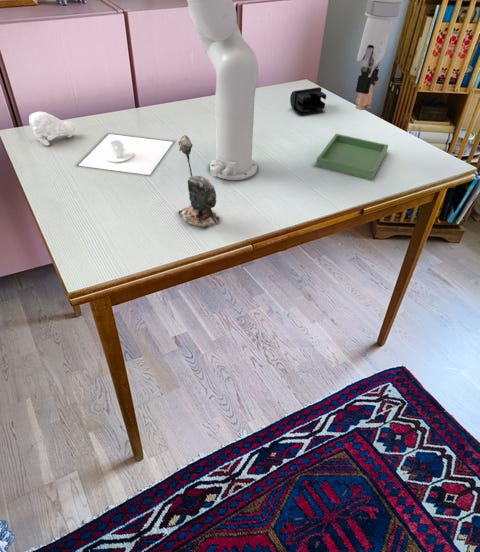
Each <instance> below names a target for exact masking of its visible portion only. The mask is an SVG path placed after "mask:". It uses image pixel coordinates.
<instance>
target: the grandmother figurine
mask: <svg viewBox="0 0 480 552" xmlns="http://www.w3.org/2000/svg"><path fill="white" fill-rule="evenodd" d="M369 63H373V61H370V62H369ZM377 66H378V63H377V64H376V65H374V68H373V70H374V69H375V68H376V67H377ZM368 67H369V69H370V68H371V66H368ZM376 69H377V68H376ZM369 71H370V70H369ZM371 77H372V81H371V85H370V89H369V93H368V94H363V93H358V94H357V97H356V101H355V104H356V105H355V107H354V108H355V109H357V110H359V111H365V110H366V109H368V110H369V109H372V106H371V105H372V99H373V83H374V82H375V85H374V86H375V87H376V88H377V87H379V86H380V81H379V75H378V76H377V73H376V72H375V71H373V72H372V75H371ZM354 87H355V89H356V87H357V85H356V86H354Z"/></svg>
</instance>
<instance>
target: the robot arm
mask: <svg viewBox="0 0 480 552" xmlns="http://www.w3.org/2000/svg"><path fill="white" fill-rule="evenodd" d="M186 2H187V4H188V5H187V9H188V15H189V18H190V19H191V22H192V24H193V27H194V29H195V32H196V34H197V36H198V38H199V40H200V43H201V44H202V47H203V49H204V51H205V53H206V56H207V57H208V60H209V61H210V64H211V66H212V67H213V69H214V71H215V76H216V82H215V83H216V84H215V85H216V86H215V95H214V108H215V109H214V110H215V111H214V113H215V114H214V115H215V119H214V121H215V158H213V159H212V160H211V161H210V163H209V170H210V171H209V174H210V176H211V177H213V178H215V177H218V178H220V179H222V180H226V181H227V180H229V181H241V180H245V179H249V178H250V177H253V176H254V175H255V174H256V173H257V172H258V163H257V162H256V161H255V160H254V159H253V140H254V138H253V137H254V119H255V98H256V91H257V83H258V79H259V63H258V58H257V56H256V53H255V52H254V50H253V49H252V47H251V46H250V45H249V43H248V42H247V41H246V40H245V39H244V37H243V35H242V32H241V30H240V28H239V25H238V14H237V10H236V6H235V4H234V1H233V0H186ZM402 2H403V0H367V3H366V7H365V8H366V9H365V12H364V15H365V16H366V17H367V19H366V22H365V25H364V28H363V32H362V36H361V41H360V45H359V49H358V52H357V57H356V62H357V63H359V64H360V63H361V62H362V63H361V65H360V66H361V67H360V71H359V74H358V78H357V82H356V86H357V87H356V86H355V87H356V88H355V92H356V93H358V94H359V93H363V94H368V93H369V89H370V85H371V81H372V77H371V75H372V72H373V71H375V72H376V73H377V76H378V77H379V71H380V69H379V68H380V66H381V61H382V59H383V58H384V56H385V54H386V50H387V46H388V43H389V39H390V34H391V31H392V26H393V21H394V20H397V19H398V18H399V16H400V11H401V8H402ZM370 61H373V63H369V62H370ZM377 63H378V66H377V67H376V68H375V69H374V70H373V68H374V65H376V64H377ZM368 66H371V68H370V69H369V67H368ZM369 70H370V71H369ZM373 86H375V82H374V83H373V85H372V87H373Z"/></svg>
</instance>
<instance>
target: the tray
mask: <svg viewBox="0 0 480 552" xmlns="http://www.w3.org/2000/svg"><path fill="white" fill-rule="evenodd" d="M388 148H389V144H385V143H382V142H376V141H371V140H368V139H362V138H358V137H353V136H348V135H344V134H339V133H335V134H334V135H333V137H332V138H331V139H330V141H329V142H328V143H327V145H326V146H325V147H324V149H323V150H322V151H321V152H320V154H318V157H317V158H316V164H315V167H317V168H320V169H321V168H322V169H326V170H330V171H333V172H339V173H341V174H347V175H349V176H355V177H359V178H362V179H367V180H370V181H372V180H373V179H374V177H375V175H376V173H377V172H378V170H379V168H380V166H381V164H382V162H383V160H384V159H385V156H386V154H387V153H388Z"/></svg>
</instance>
